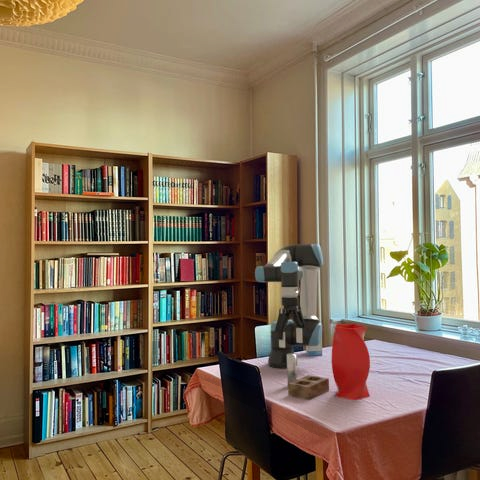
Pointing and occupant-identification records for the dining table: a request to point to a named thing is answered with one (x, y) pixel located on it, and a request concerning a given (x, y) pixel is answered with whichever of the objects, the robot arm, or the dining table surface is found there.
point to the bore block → (308, 387)
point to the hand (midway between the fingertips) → (291, 345)
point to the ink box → (314, 349)
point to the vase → (350, 361)
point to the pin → (291, 367)
